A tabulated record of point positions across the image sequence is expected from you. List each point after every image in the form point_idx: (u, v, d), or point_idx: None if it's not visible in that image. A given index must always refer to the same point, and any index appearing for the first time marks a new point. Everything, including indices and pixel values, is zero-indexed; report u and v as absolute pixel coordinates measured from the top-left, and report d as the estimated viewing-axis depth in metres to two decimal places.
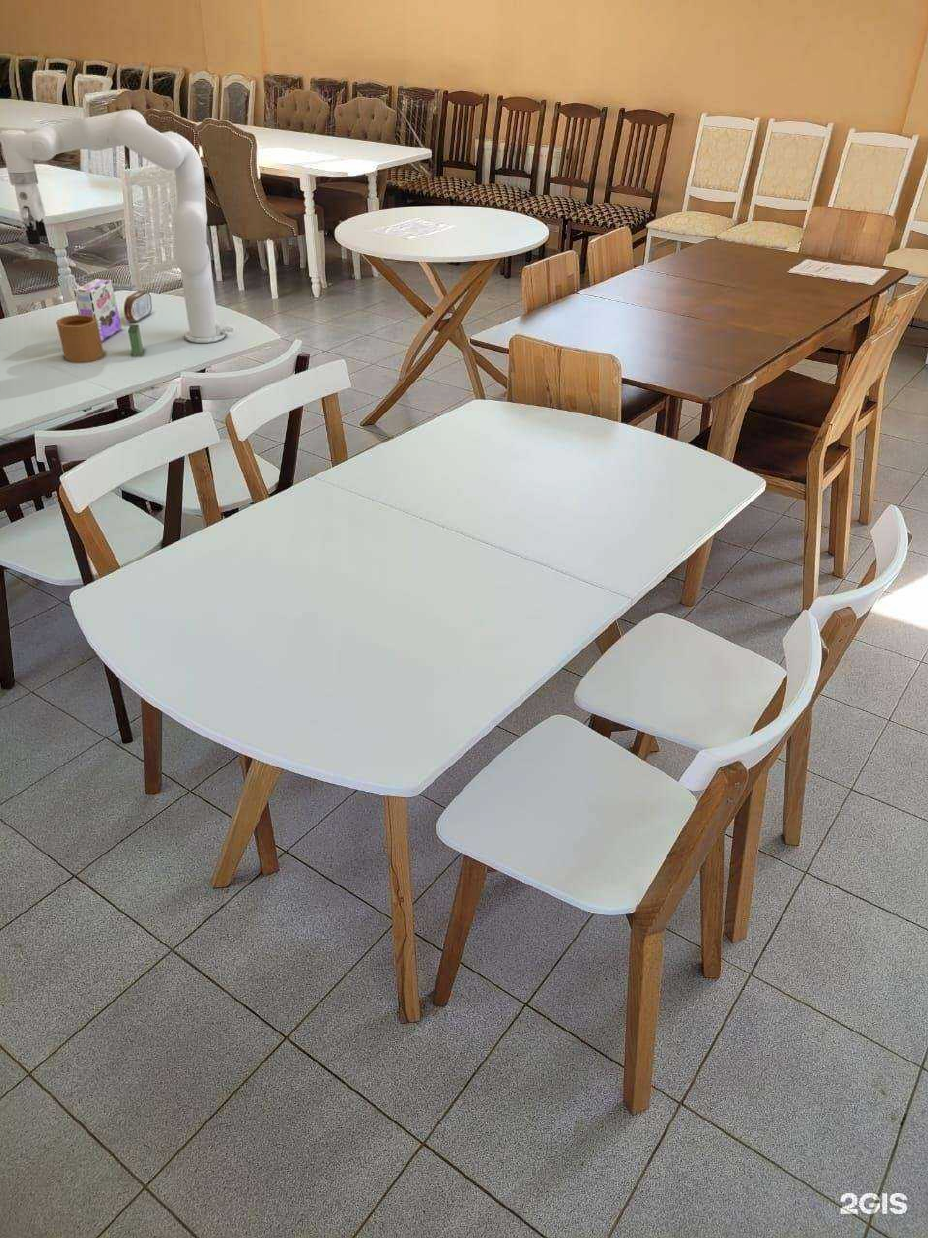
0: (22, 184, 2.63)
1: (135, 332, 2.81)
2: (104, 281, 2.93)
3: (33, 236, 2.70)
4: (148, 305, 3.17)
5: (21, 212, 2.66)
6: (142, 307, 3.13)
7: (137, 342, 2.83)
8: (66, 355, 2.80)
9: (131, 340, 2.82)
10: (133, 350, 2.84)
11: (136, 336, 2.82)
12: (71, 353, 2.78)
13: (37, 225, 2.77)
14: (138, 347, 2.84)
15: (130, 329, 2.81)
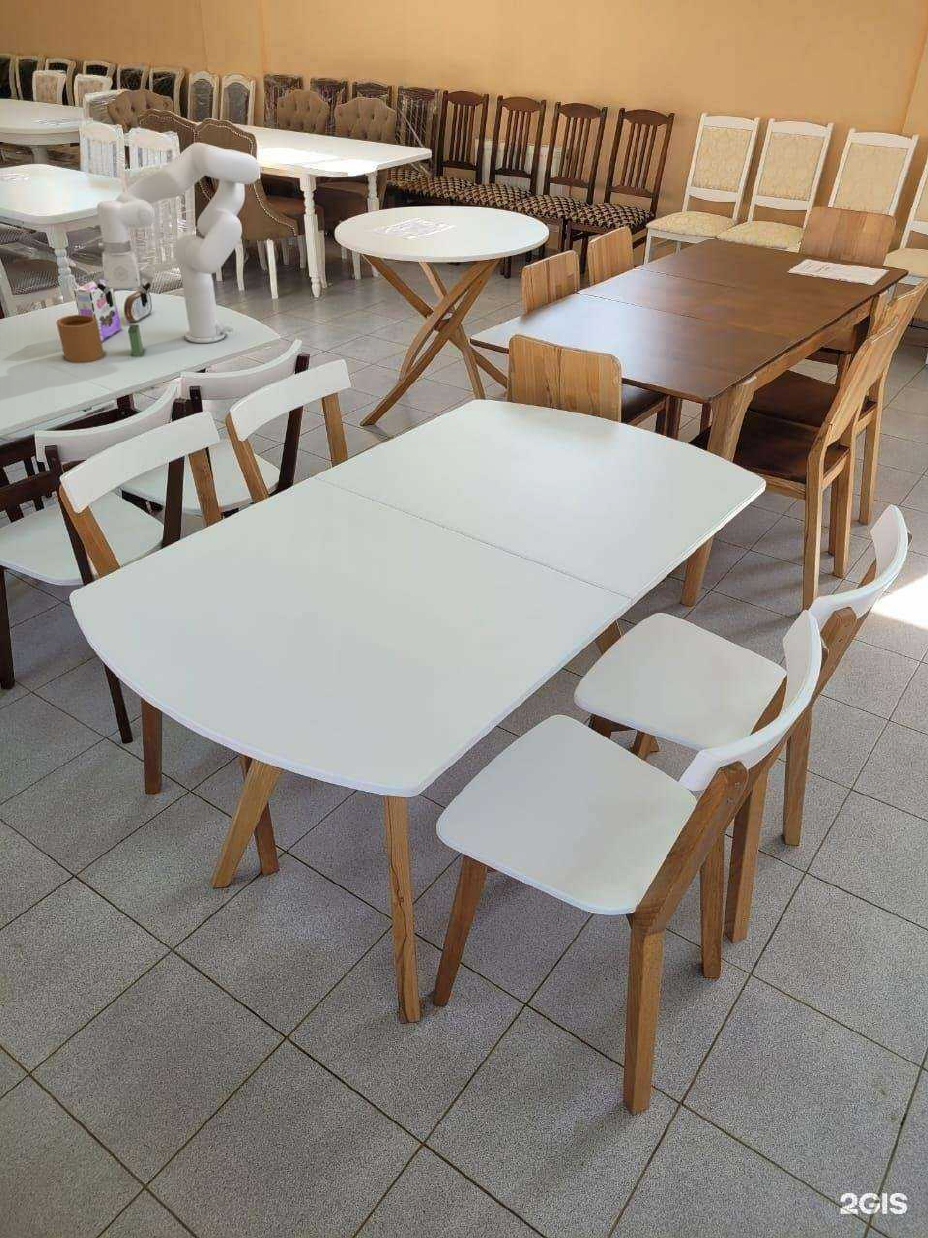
0: None
1: (135, 332, 2.81)
2: (104, 281, 2.93)
3: None
4: (148, 305, 3.17)
5: None
6: (142, 307, 3.13)
7: (137, 342, 2.83)
8: (66, 355, 2.80)
9: (131, 340, 2.82)
10: (133, 350, 2.84)
11: (136, 336, 2.82)
12: (71, 353, 2.78)
13: None
14: (138, 347, 2.84)
15: (130, 329, 2.81)
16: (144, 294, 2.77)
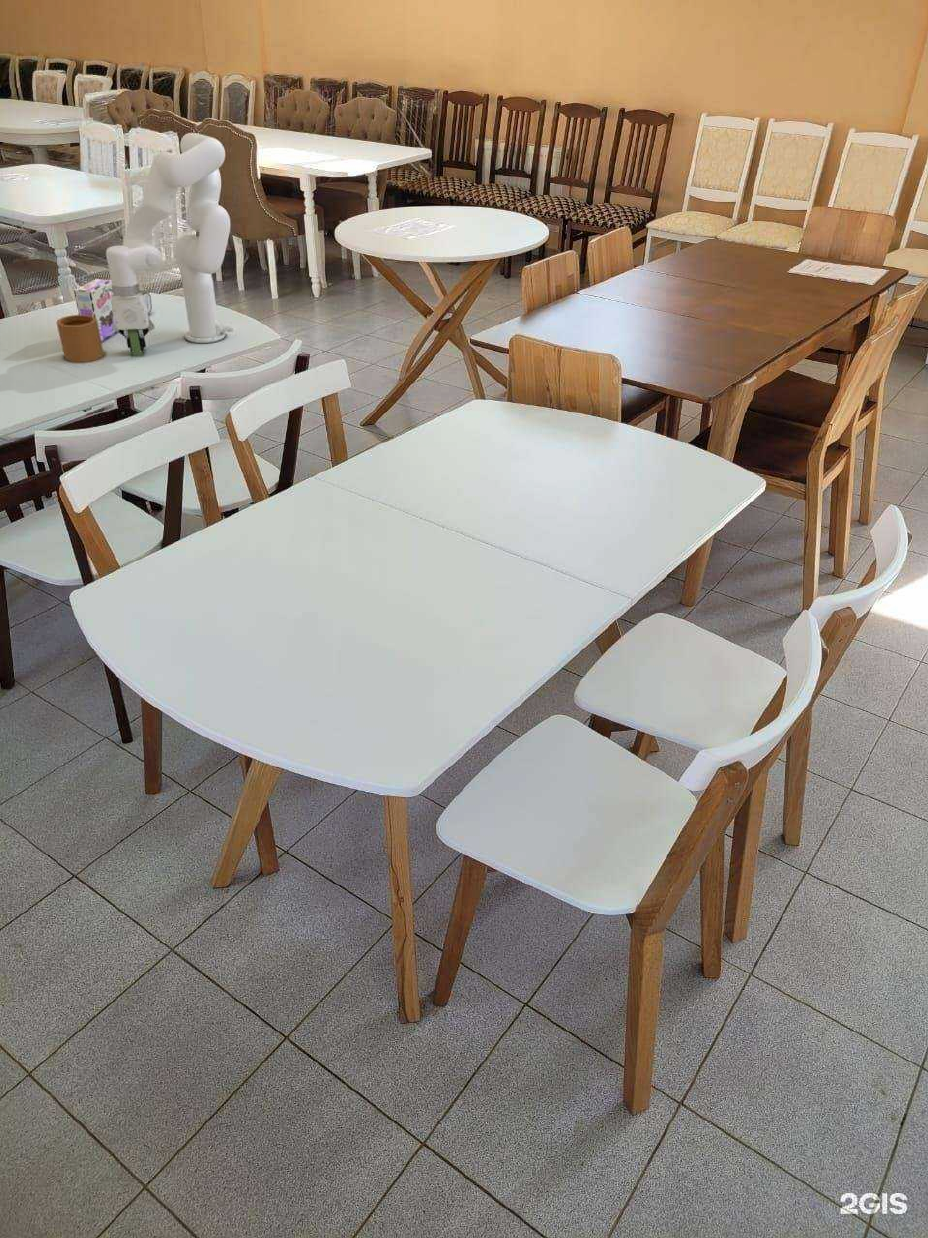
0: None
1: (135, 332, 2.81)
2: (104, 281, 2.93)
3: None
4: (148, 305, 3.17)
5: None
6: None
7: (137, 342, 2.83)
8: (66, 355, 2.80)
9: (131, 340, 2.82)
10: (133, 350, 2.84)
11: (136, 336, 2.82)
12: (71, 353, 2.78)
13: None
14: (138, 347, 2.84)
15: None
16: (142, 339, 2.84)
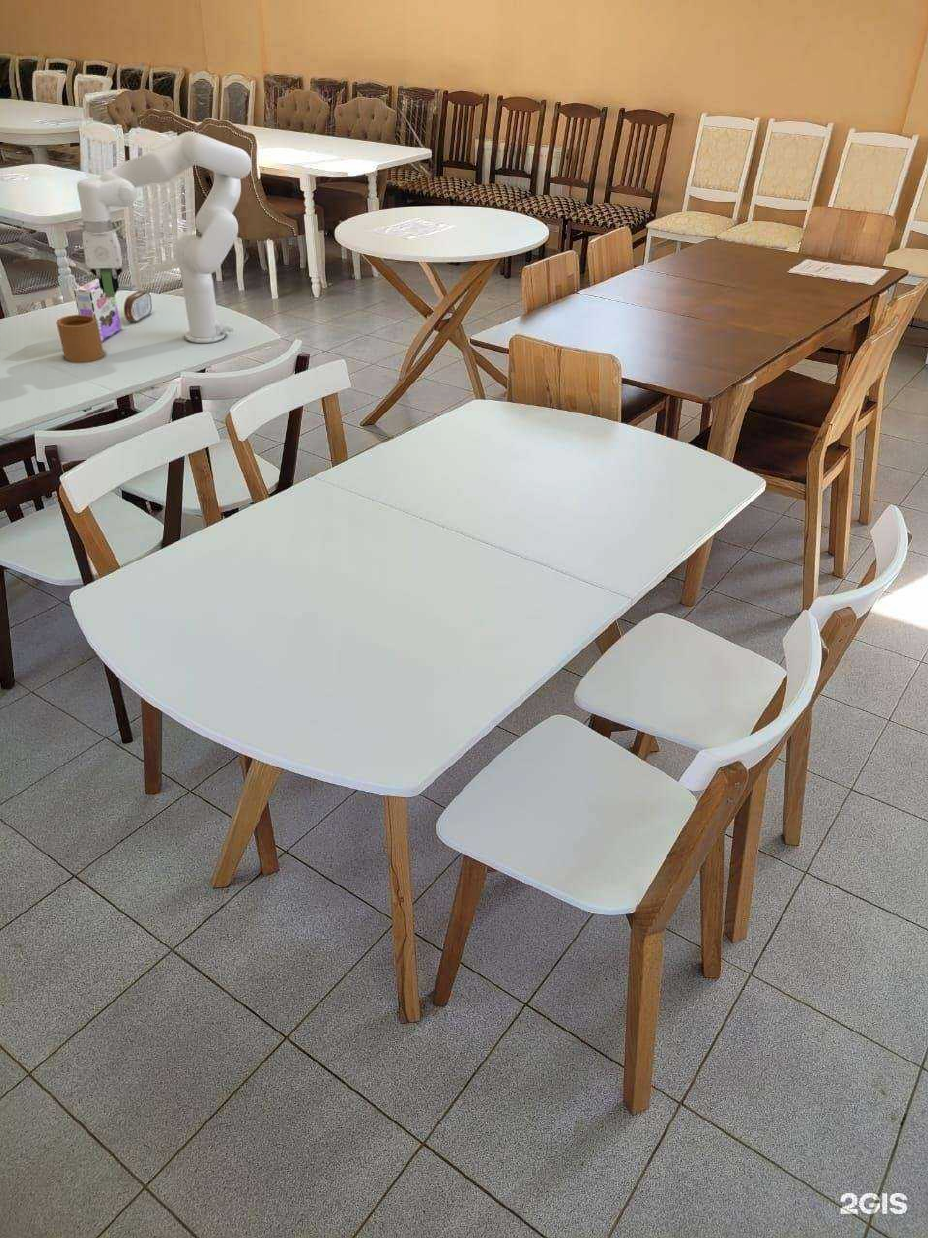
0: None
1: (108, 271, 2.69)
2: None
3: None
4: (148, 305, 3.17)
5: None
6: (142, 307, 3.13)
7: (110, 282, 2.71)
8: (66, 355, 2.80)
9: (104, 280, 2.70)
10: (106, 291, 2.72)
11: (109, 276, 2.70)
12: (71, 353, 2.78)
13: None
14: (111, 288, 2.72)
15: None
16: (115, 279, 2.73)
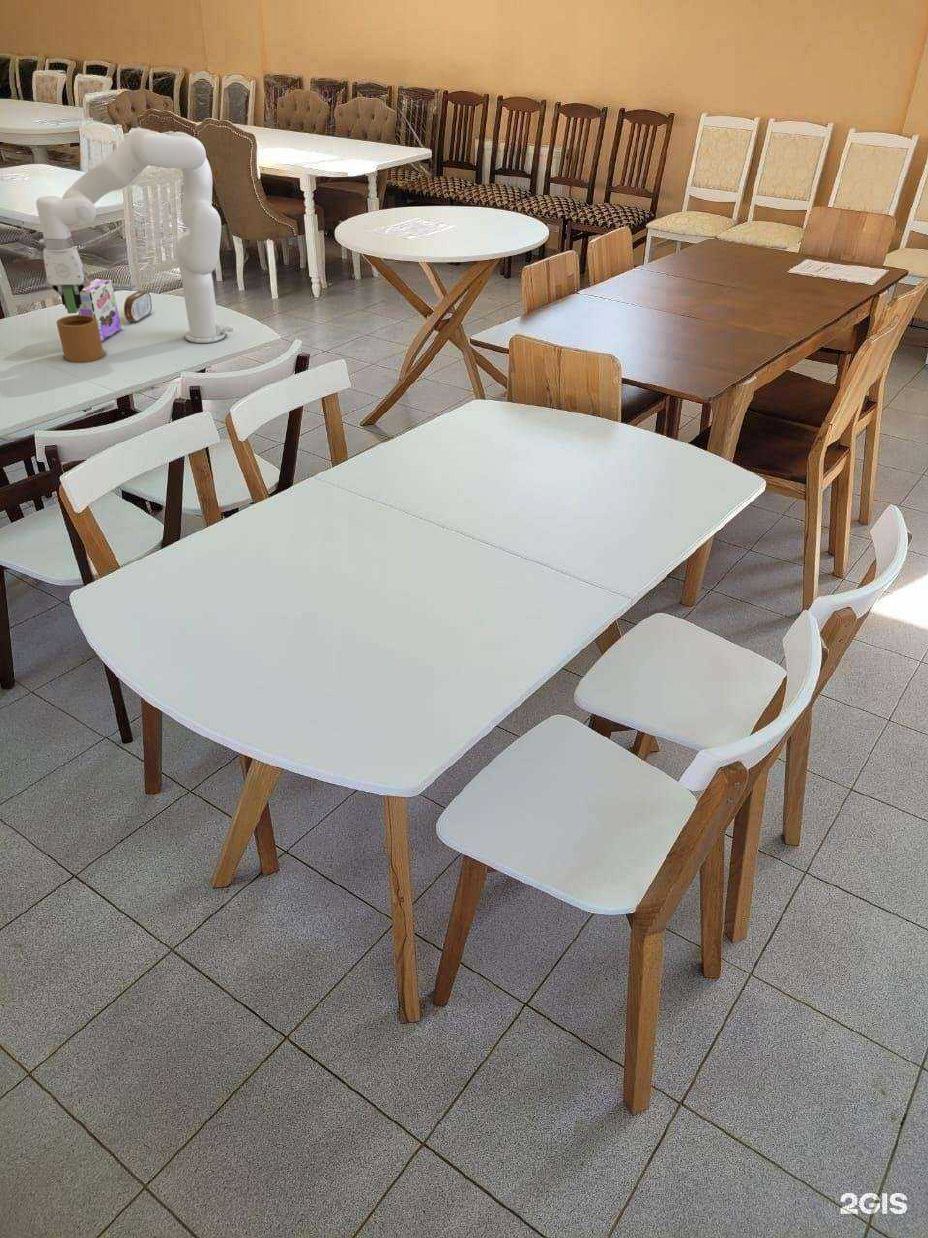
0: None
1: (69, 288, 2.69)
2: (104, 281, 2.93)
3: None
4: (148, 305, 3.17)
5: None
6: (142, 307, 3.13)
7: (72, 299, 2.71)
8: (66, 355, 2.80)
9: (65, 296, 2.71)
10: (68, 307, 2.72)
11: (70, 292, 2.70)
12: (71, 353, 2.78)
13: None
14: (73, 304, 2.72)
15: (64, 285, 2.70)
16: (77, 296, 2.73)
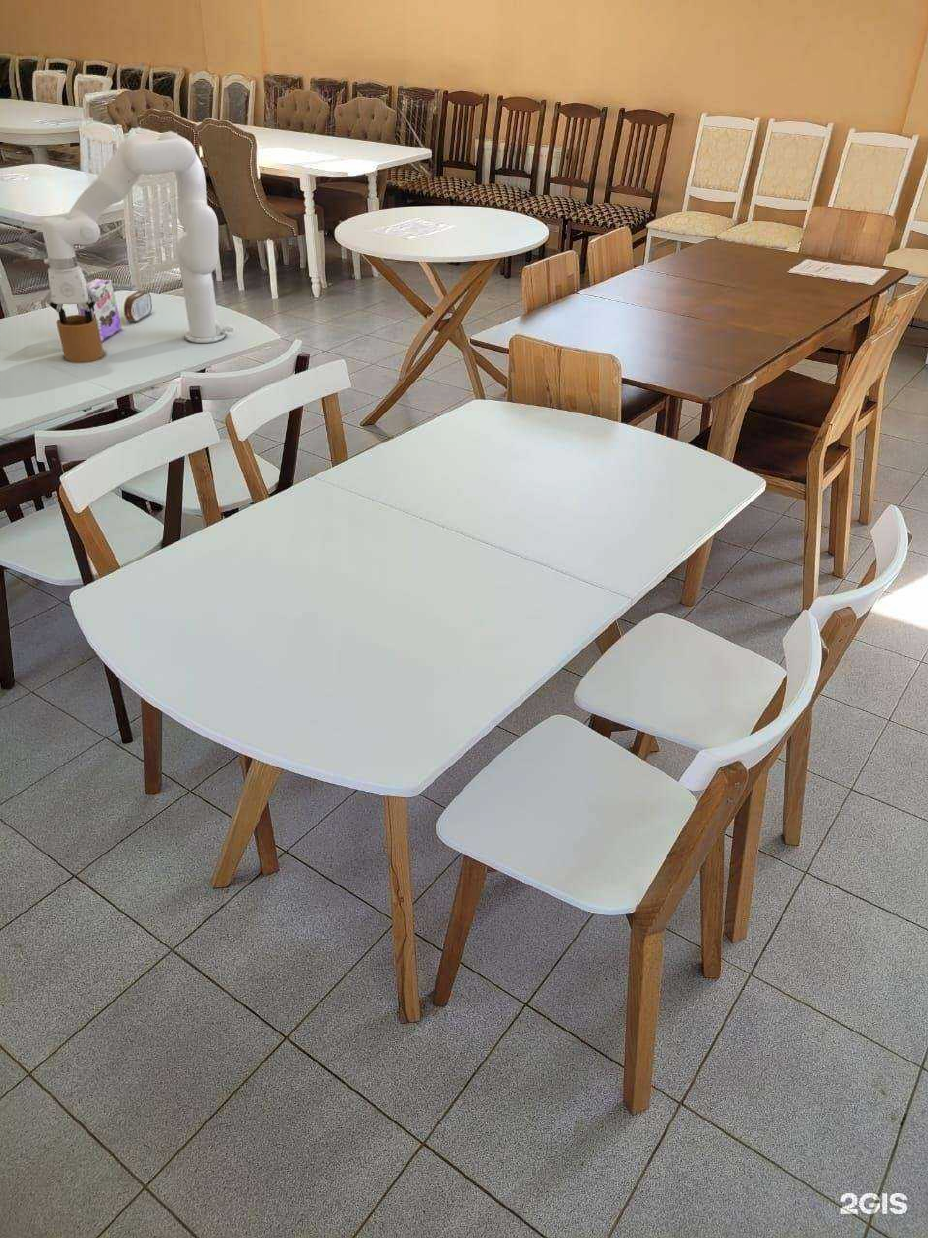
0: None
1: None
2: (104, 281, 2.93)
3: None
4: (148, 305, 3.17)
5: None
6: (142, 307, 3.13)
7: None
8: (66, 355, 2.80)
9: None
10: None
11: None
12: (71, 353, 2.78)
13: None
14: None
15: None
16: (88, 312, 2.76)
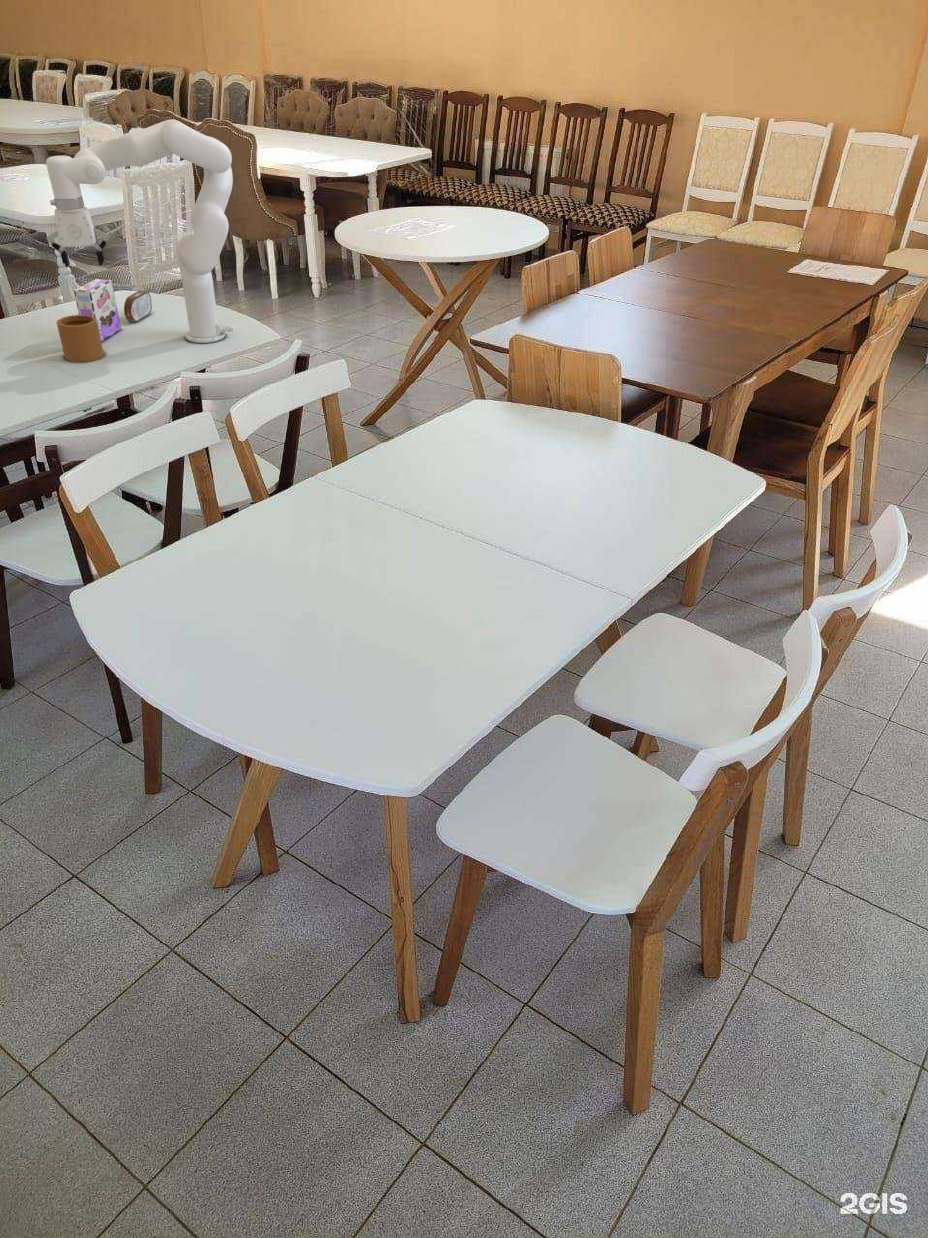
0: None
1: None
2: (104, 281, 2.93)
3: None
4: (148, 305, 3.17)
5: None
6: (142, 307, 3.13)
7: None
8: (66, 355, 2.80)
9: None
10: None
11: None
12: (71, 353, 2.78)
13: None
14: None
15: None
16: (100, 252, 2.71)
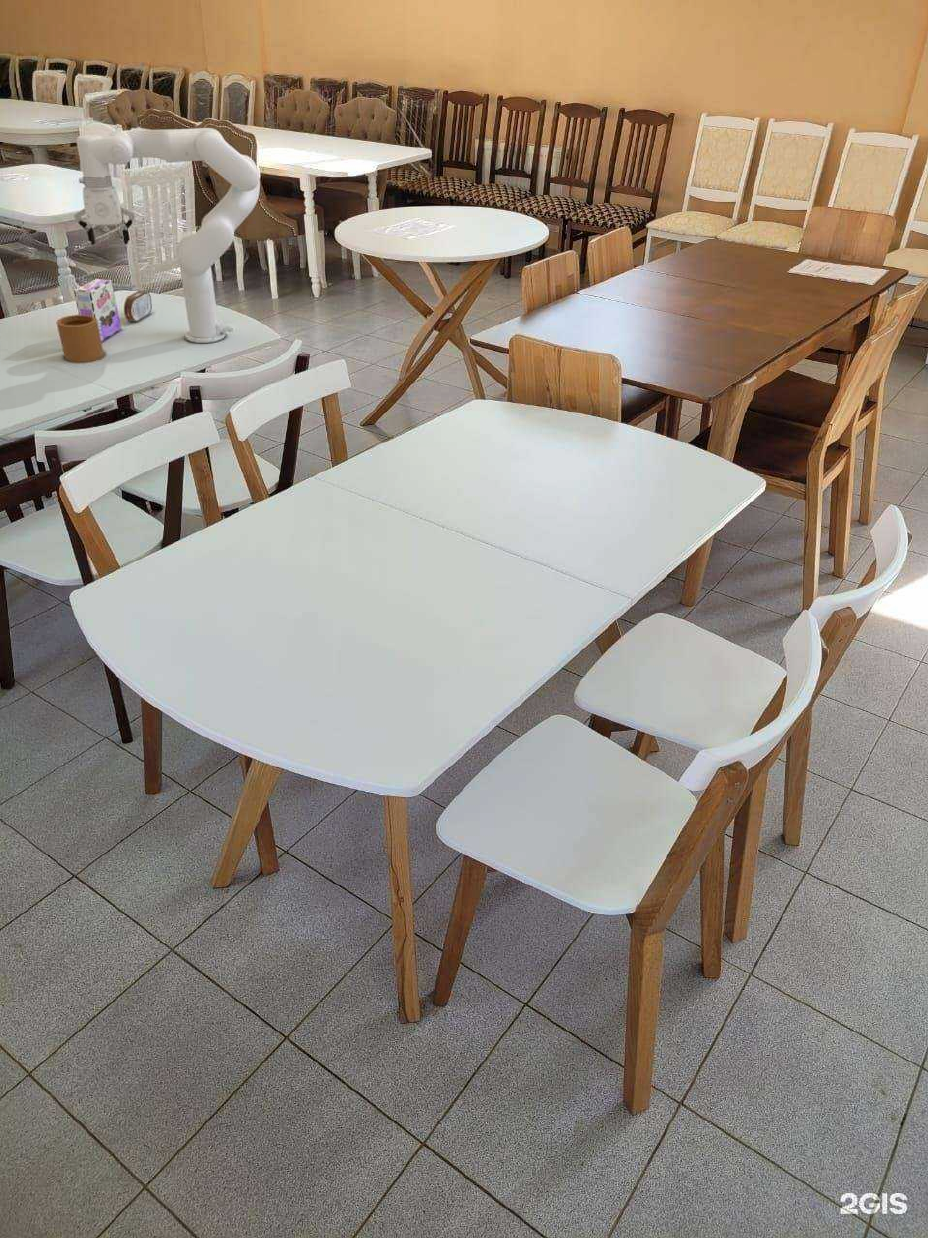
0: None
1: None
2: (104, 281, 2.93)
3: None
4: (148, 305, 3.17)
5: None
6: (142, 307, 3.13)
7: None
8: (66, 355, 2.80)
9: None
10: None
11: None
12: (71, 353, 2.78)
13: None
14: None
15: None
16: (126, 231, 2.76)
